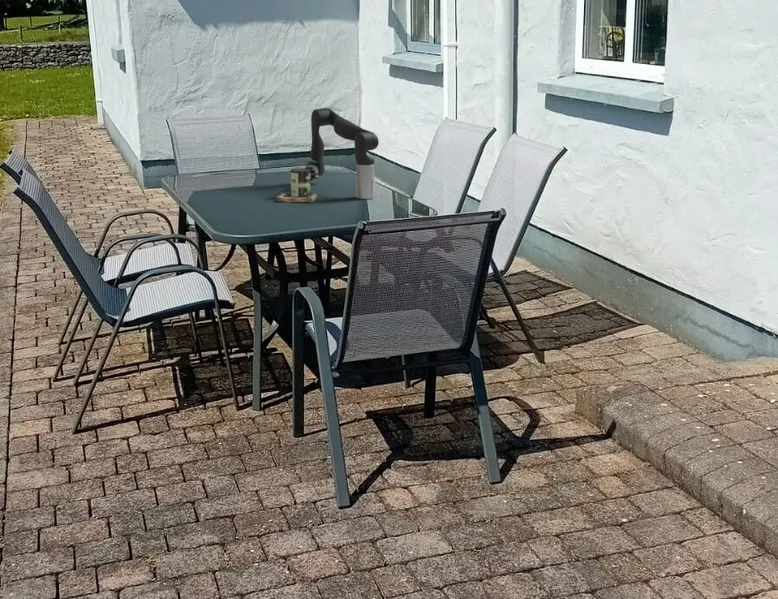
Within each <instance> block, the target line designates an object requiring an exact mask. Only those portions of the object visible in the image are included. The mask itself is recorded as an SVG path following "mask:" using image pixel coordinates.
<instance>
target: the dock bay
mask: <svg viewBox="0 0 778 599" xmlns="http://www.w3.org/2000/svg"><path fill="white" fill-rule="evenodd" d="M275 198H276V201H299V202H303V201H308V202H312V201H313V200H315V198H317V199H318V194H317V193H313V194H310V197H309V198H294V197H291V196H290V197H288V196H287V193H286V192H282V193H281V194H279V195H278V196H276V197H275ZM315 201H316V200H315Z"/></svg>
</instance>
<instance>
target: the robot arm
mask: <svg viewBox="0 0 778 599" xmlns="http://www.w3.org/2000/svg"><path fill="white" fill-rule="evenodd" d="M310 120H311V124H310V126H311V148H310V155H309V157H310V159H311V160H312V161H307V162H306V165H305V167H304V169H310V182H312V181H314V180H317V179H319V177H321V176H323V175H324V173H325V171H326V170H325V169H326V168H325V162H324V153H325V152H324V151H325V143H324V141H323V139H322V136H321V135H320V127H325V126H332V127H333V131H334V133H335V134H336V135H337V136H338V137H341V138H342V139H345V140H346V141H353V142H354V156H355V158H354V159H355V163H356V164H355V165H356V166H355V168H356V169H355V178H356V179H355V180H356V181H355V189H356V190H355V192H356V193H355V198H356V199H362V200H370V199H374V198H375V197H376V195H375V194H376V192H375V191H376V190H375V189H376V188H375V187H376V178H375V158H373V157H370V156H369V155H368V154H367V151H373V150H376V149H377V148H378V146H379V141H380V140H379V138H378V136H377V134H376V133H374V132H373V131H370V130H368V129H365V128H363V127H360V126H359V125H357V124H355V123H354V122H351V121H350V120H348V119H346V118H344V117H343V116H341V115H339V114H337V113H336V112H335V111H333V109H331V108H329V107H322V108H316V109H314V110H312V112H311V118H310Z"/></svg>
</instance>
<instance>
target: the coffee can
mask: <svg viewBox="0 0 778 599" xmlns="http://www.w3.org/2000/svg"><path fill="white" fill-rule="evenodd" d="M304 168H305V167H304ZM304 168H292V169H289V172H290V197H291V196H292V197H309V196H311V181H310V169H304Z"/></svg>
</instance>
